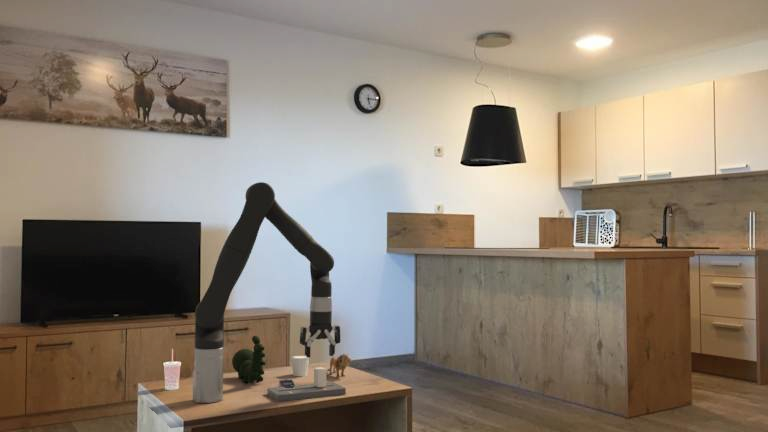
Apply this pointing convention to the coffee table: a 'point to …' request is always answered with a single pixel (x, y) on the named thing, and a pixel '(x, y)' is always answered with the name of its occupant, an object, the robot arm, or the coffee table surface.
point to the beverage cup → (172, 374)
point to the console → (305, 391)
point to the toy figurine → (250, 362)
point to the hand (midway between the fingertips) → (319, 356)
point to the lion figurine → (339, 364)
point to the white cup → (300, 365)
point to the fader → (320, 377)
